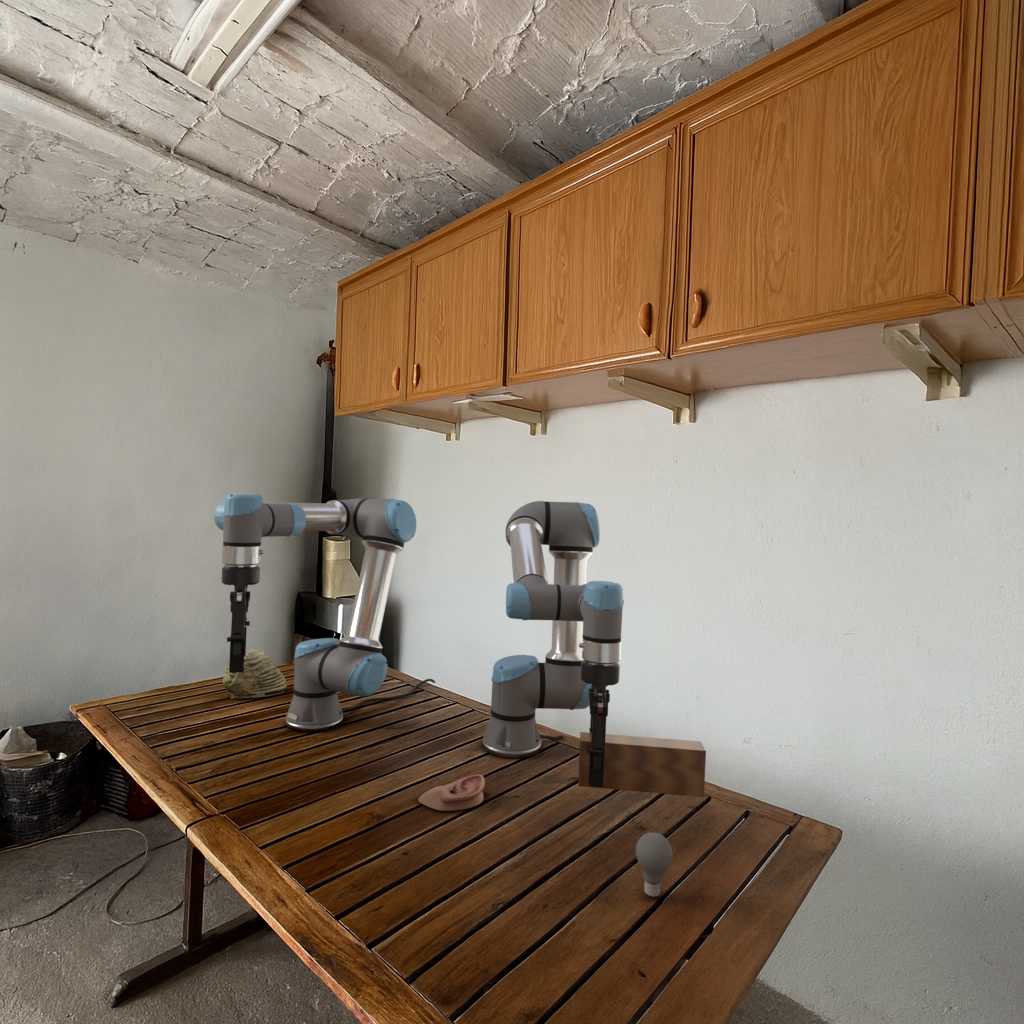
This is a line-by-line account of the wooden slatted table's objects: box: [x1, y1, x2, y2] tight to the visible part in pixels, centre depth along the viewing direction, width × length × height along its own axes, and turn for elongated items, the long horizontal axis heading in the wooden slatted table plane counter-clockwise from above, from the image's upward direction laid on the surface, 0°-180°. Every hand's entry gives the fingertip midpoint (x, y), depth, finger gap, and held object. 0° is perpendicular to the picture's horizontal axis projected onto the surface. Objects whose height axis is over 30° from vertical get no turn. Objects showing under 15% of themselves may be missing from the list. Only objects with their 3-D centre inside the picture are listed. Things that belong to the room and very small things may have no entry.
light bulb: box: [635, 831, 674, 897], centre depth 105 cm, size 6×6×10 cm
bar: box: [577, 731, 707, 798], centre depth 123 cm, size 24×5×9 cm, turn 84°
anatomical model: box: [417, 773, 486, 812], centre depth 135 cm, size 13×4×12 cm
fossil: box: [222, 646, 288, 699], centre depth 198 cm, size 9×18×15 cm, turn 132°
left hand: (237, 663), depth 136 cm, fingers open, 13 cm apart
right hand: (595, 779), depth 124 cm, fingers closed on bar, 5 cm apart
